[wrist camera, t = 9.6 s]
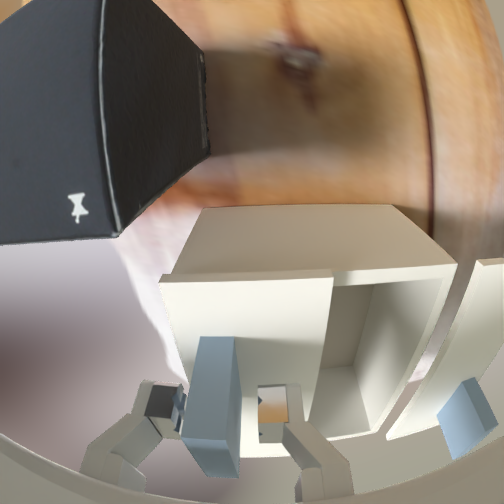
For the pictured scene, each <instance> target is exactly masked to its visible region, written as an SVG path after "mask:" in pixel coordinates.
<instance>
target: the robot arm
mask: <svg viewBox="0 0 504 504" xmlns="http://www.w3.org/2000/svg"><path fill="white" fill-rule="evenodd" d="M183 390H184V388H183V386H182V384H180V383H168V382H158V381H150V380H143V381H142V382H141V384H140V387H139V390H138V393H137V396H136V399H135V402H134V405H133V408H132V411H131V414H126V415H125V416H124V417H122V418H121V419H120V420H119V421H118V422H116V423H115V424H114V425H113V426H111V427H110V428H109V429H108V430H106V431H105V432H104V433H103V434H101V435H100V436H99V437H98V438H96V439H95V440H94V441H93V442H91V443H90V444H89V445H88V447H87V450H86V453H85V456H84V459H83V462H82V465H81V468H80V471H79V473H78V472H76V471H73V470H71V469H69V468H66V467H64V466H62V465H59V464H57V463H55V462H53V461H50V460H48V459H46V458H44V457H42V456H40V455H38V454H36V453H34V452H32V451H30V450H28V449H27V448H25V447H23V446H21V445H19V444H18V443H16V442H14V441H13V440H11V439H9V438H7V437H6V436H4V435H3V434H1V433H0V504H216V503H204V502H196V501H188V500H180V499H174V498H168V497H163V496H157V495H153V494H148V493H144V490H145V485H146V479H147V478H146V477H145V475H143V474H142V473H141V472H140V471H138V470H137V469H136V468H137V467H138V466H139V464H140V463H141V462H142V461H143V460H144V459H145V458H146V457H147V456H148V455H149V454H150V453H151V452H152V450H153V449H154V448H155V447H156V446H157V445H158V444H159V443H160V442H161V440H162V439H163V438H167V439H178V440H182V439H181V431H182V425H183V420H184V414H185V409H186V404H187V399H188V398H187V395H186V394H184V393H183ZM258 432H259V443H282V445H283V446H284V447H285V449H286V450H287V451H288V453H289V454H290V455H291V456H292V458H293V459H294V460H295V462H296V463H297V464H298V465H299V467H300V468H301V469H302V472H301V473H300V476H299V478H298V481H297V483H296V485H295V503H291V504H504V436H502V437H500V438H498V439H496V440H494V441H493V442H491V443H489V444H487V445H486V446H484V447H482V448H480V449H479V450H477V451H475V452H473V453H471V454H469V455H467V456H465V457H463V458H461V459H459V460H457V461H454V462H452V463H450V464H448V465H446V466H443V467H441V468H438V469H436V470H434V471H431V472H429V473H426V474H423V475H421V476H418V477H416V478H412V479H409V480H406V481H404V482H401V483H397V484H394V485H390V486H387V487H383V488H380V489H376V490H372V491H368V492H363V493H359V494H354V489H353V482H352V476H351V471H350V465H349V461H348V460H347V459H346V458H345V457H344V456H343V455H342V454H341V453H340V452H339V451H338V450H337V449H336V448H334V446H333V445H331V444H330V442H329V441H328V440H327V439H326V438H325V437H324V436H323V435H322V434H321V433H320V432H319V431H318V430H317V429H316V428H315V427H314V426H313V425H312V424H311V423H310V422H309V421H305V418H304V409H303V401H302V393H301V386H300V384H299V383H292V384H270V385H258Z"/></svg>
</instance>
